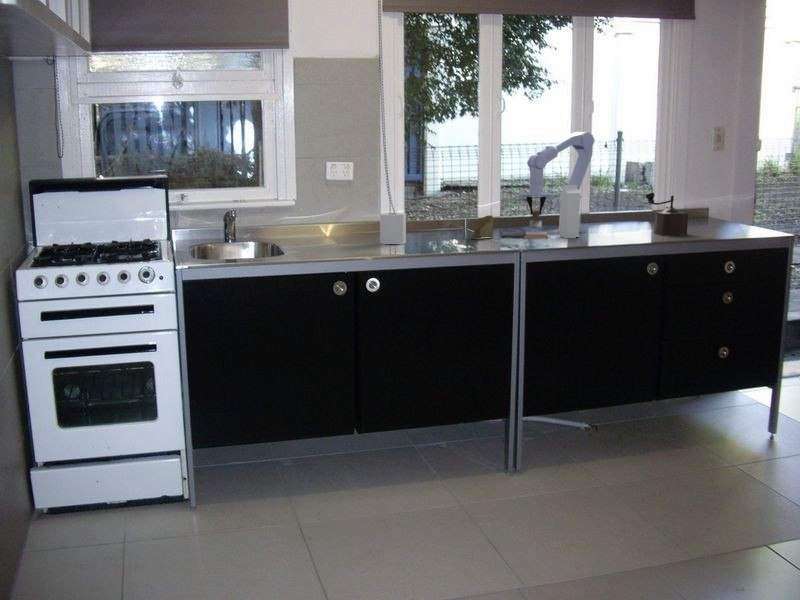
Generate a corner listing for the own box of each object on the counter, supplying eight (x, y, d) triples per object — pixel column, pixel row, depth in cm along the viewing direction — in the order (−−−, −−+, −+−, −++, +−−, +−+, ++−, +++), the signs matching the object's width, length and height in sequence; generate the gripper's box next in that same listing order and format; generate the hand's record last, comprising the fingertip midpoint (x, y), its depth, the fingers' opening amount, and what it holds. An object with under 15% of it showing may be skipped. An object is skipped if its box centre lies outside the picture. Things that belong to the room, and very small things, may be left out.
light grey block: (376, 244, 350) (375, 214, 347) (387, 241, 359) (386, 212, 357) (399, 245, 346) (398, 215, 343) (409, 242, 355) (409, 212, 353)
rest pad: (523, 234, 377) (523, 232, 377) (523, 238, 365) (523, 235, 365) (502, 234, 378) (502, 232, 378) (501, 237, 367) (501, 235, 366)
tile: (547, 232, 370) (547, 234, 362) (547, 237, 371) (547, 239, 363) (525, 231, 372) (525, 234, 364) (525, 237, 372) (525, 239, 364)
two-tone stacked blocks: (541, 219, 380) (541, 208, 378) (541, 228, 369) (541, 217, 367) (530, 219, 380) (530, 208, 378) (529, 228, 370) (529, 217, 368)
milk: (559, 237, 368) (560, 184, 363) (571, 236, 370) (572, 184, 365) (566, 238, 362) (567, 185, 358) (579, 237, 364) (580, 185, 360)
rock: (473, 235, 358) (497, 231, 359) (468, 217, 362) (492, 213, 362) (471, 247, 368) (494, 244, 369) (466, 230, 371) (489, 226, 372)
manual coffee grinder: (673, 232, 381) (675, 190, 378) (687, 234, 371) (690, 192, 367) (641, 233, 377) (643, 191, 374) (655, 236, 367) (657, 193, 363)
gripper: (519, 183, 371) (518, 215, 374) (553, 183, 369) (553, 215, 372) (519, 182, 378) (519, 213, 381) (553, 182, 376) (552, 213, 379)
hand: (535, 214), depth 377 cm, fingers closed on two-tone stacked blocks, 3 cm apart
